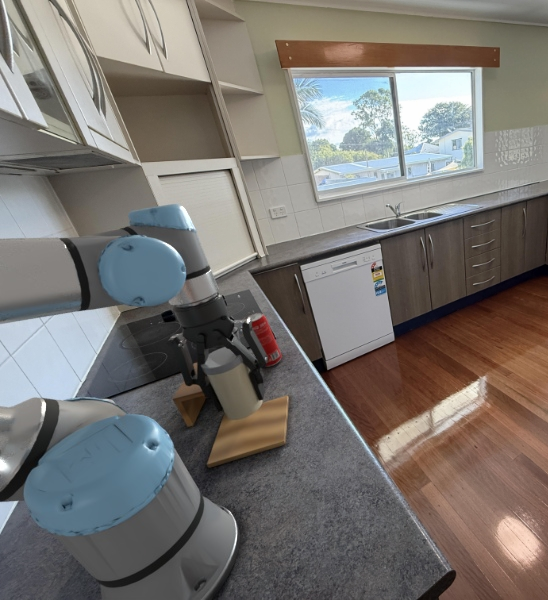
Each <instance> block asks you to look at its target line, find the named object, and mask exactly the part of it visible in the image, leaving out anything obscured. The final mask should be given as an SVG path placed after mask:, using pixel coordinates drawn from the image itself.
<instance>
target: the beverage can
mask: <svg viewBox="0 0 548 600" xmlns="http://www.w3.org/2000/svg"><path fill="white" fill-rule="evenodd" d="M246 317H249V318H251V320H252V328H253V330H254V332H255V334H256V336H257V338H258V340H259V341H260V343H261V345H262V347H263V349H264V351H265V352H266V354H267V356H268V360H267V364H266V366H265V367H267V368H269V367H272V366H273V367H274V366H275V365H277V364H278V363H280V361H281V360H282V357H283V355H282V352H281V351H280V348H279V346H278V344H277V341H276V339H275V335H274V334H273V331H272V329H271V327H270V324H269V322H268V320H267V317H266V316H265V315H264V314H263V312H260V311H259V312H252V313H251V314H248V315H247V316H245V317H243V319H242V320H244V319H245V318H246Z"/></svg>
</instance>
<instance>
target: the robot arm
mask: <svg viewBox="0 0 548 600" xmlns="http://www.w3.org/2000/svg"><path fill="white" fill-rule="evenodd" d="M127 218H128V220H129V221H128V224H129V225H128V226H125V227H121V228H119V229H114V230H109V231H102V232H97V233H93V234H87V235H82V236H81V235H80V236H71V237H21V238H20V237H19V238H18V237H16V238H0V325H3V324H11V323H15V322H22V321H28V320H34V319H40V318H46V317H51V316H57V315H64V314H70V313H78V312H83V311H84V312H85V311H94V310H97V309H98V310H99V309H105V308H111V307H118V306H123V305H125V306H127V307H135V308H141V307H154V306H155V307H156V306H159V305H162V304H165V303H167V302H168V304H169V305H170V306H173V308H172V311H173V313H174V316H175V317H176V319H177V322H178V323H179V325H180V327H181V328H182V332H181V333H174V334H173V335H171V336H170V338H169V339H168V340H167V342H166V344H167V346H168V347H169V348H170V349H171V350H172V351H173V353H174V356H175V359H176V362H177V364H178V367H179V371H180V373H181V376H182V379H183V381H184V382H185V384H186V385H187V386H192V385H198V386H200V388H201V390H202V392H203V394H204V395H205V397H206V399H211V401H212V403H213V405H214V407H215V409H216V411H217V413H220V412H224V410H223V408H222V406H221V404H220V402H219V400H218V398H217V396H216V394H215V392H214V389H213V387H212V385H211V383H210V381H209V379H208V377H207V375H206V374H205V373H204V372H203V370H202V368H201V364H205V362H206V361H207V359H208V357H209V354H210V352H209V350H210V349H212V348H215V346H221V345H224V346H225V347H226V348H227V349H230V350H231V351H232V352H233V353H234V354H235V355H236V356H237V355H241V357H242V359H243V363H244V364H245V365H246V366H247V367H248V368H249V369H250V371H249V377H250V379H251V382H252V384H253V387H254V389H255V391H256V394H257V396H258V399H259V401H260V400H264V398H265V393H266V390H265V388H264V385H263V384H264V382H265V374H264V372H263V369H262V368H264V367H266V364H267V360H268V356H267V354H266V352H265V351H264V349H263V347H262V345H261V343H260V341H259V340H258V338H257V336H256V334H255V332H254V330H253V328H252V320H251V318H249V317H246V316H245V317H246V318H245V317H244V318H245V319H244V318H243V319H244V320H243V319H235V318H234V317H233V316H232V315H231V314H230V312H229V309H228V307H227V304H226V302H225V300H224V297H223V295H222V293H220V292H219V291H220V288H219V285H218V282H217V280H216V278H215V275H214V271H213V270H212V268H211V266H210V264H209V261H208V259H207V255H206V254H205V251H204V248H203V245H202V244H201V240H200V238H199V235H198V230H197V229H196V227H195V225H194V223H193V221H192V219H191V217H190V215H189V213H188V211H187V210H186V208H185V207H184V206H182V205H180V204H177V203H173V204H164V205H158V206H152V207H146V208H141V209H136V210H131V211H129V212H128V213H127ZM234 327H237V328H238V331H239V332H240V333H242V335H243V337H244V340H245V341H246V343H247V345H248V347H249V348H250V350H251V351H250V350H249V349H248V348H247V347H246V346H245V345H244V344H243V343H242V342H241V340H240V341H239V340H238V339H237V337H236V335H235V334H234V333H233V332H232V331H233V329H234ZM187 341H189V342H191V343H193V344H194V345H196V350H195V351H196V353H195V354H196V363H197V375H196V372H195V369H194V366H193V364H194V363H193V359H192V357H191V353H190V350H189V346H188V345H187ZM103 399H104V398H97V397H89V396H79V397H72V398H66V399H63V400H62V399H55V398H54V399H53V398H47V397H37V396H36V397H35V396H34V397H31V398H28V399H26V400H24V401H22V402H19V403H17V404H15V405H12V406H1V405H0V503H9V502H25V505H26V507H27V509H28V512H29V515H30V516H31V518H32V520H33V521H34V522H35V524H37V525H38V526H39V527H40V528H41V529H43V530H46V531H48V532H49V533H50V534H52V535H53V537H54V538H56V540H57V541H58V542H59V543H60V544H61V545H62V546H63V547H64V548H65V549H66V550H67V551H68V552H69V553H70V554H71V556H73V557H74V558H75V560H77V561H78V563H79V564H80V565H81V566H82V567H83V568H84V569H85V570H86V571H87V572H88V573H89V574H90V575H91V577H93V578H94V580H95V581H96V582H97V583H98V584H99V586H100V595H101V600H213V599H214V598H215V597H216V595H217V594H218V592H219V591H220V590H221V588H222V587H223V586H224V584H225V582H226V581H227V579H228V577H229V575H230V574H231V572H232V570H233V567H234V565H235V563H236V560H237V557H238V554H239V550H240V545H241V532H240V527H239V524H238V522H237V521H236V519H235V517H234V515H233V514H232V512H231V511H230V510H228V508H226V507H224V506H222V505H220V504H218V503H214V502H212V501H211V500H210V499H209V498H207V497H205V496H204V495H203V494H202V492H201V491H200V489H199V487H198V486H197V484H196V482H195V480H194V478H193V477H192V476H191V474H190V472H189V471H188V469H187V466H186V465H185V463H184V462H183V460H182V459H181V456H180V455H179V454H178V452H177V450H176V448H175V444H174V442H173V440H172V438H171V436H170V434H169V433H168V432H167V430H166V429H164V428H163V427H162V426H161V425H160V424H159V422H157V421H156V420H155V419H153V418H151V417H149V416H147V415H143V414H137V413H128V412H127V411H126V410H125V408H123V407H122V406H120V405H119V404H116V402H114V403H112V402H110V401H107V400H103Z"/></svg>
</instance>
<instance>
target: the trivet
mask: <svg viewBox="0 0 548 600" xmlns="http://www.w3.org/2000/svg"><path fill="white" fill-rule="evenodd" d="M289 403H290V398H289V395H284V396H281V397H278V398H273V399H271V400H266V401H263V402H262V405H261V406H260V408H259V409H258V410H257V411H256V412H254V413H253V414H252V415H250V416H248V417H246V418H243V419H239V420H230V419H228V418H227V416H226V414H225V412H224V413H223V417H222V419H221V422H220V425H219V428H218V431H217V434H216V437H215V439H214V441H213V445H212V449H211V451H210V453H209V456H208V459H207V462H206V466H207V468H208V469H211V468H213V467H216V466H220V465H223V464H226V463H230V462H233V461H236V460H240V459H242V458H243V459H244V458H246V457H250V456H253V455H255V454H259V453H262V452H266V451H269V450H272V449H275V448H278V447H281V446H284V445H286V443H287V442H286V441H287V431H288V430H287V428H288V418H289V405H290V404H289Z"/></svg>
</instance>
